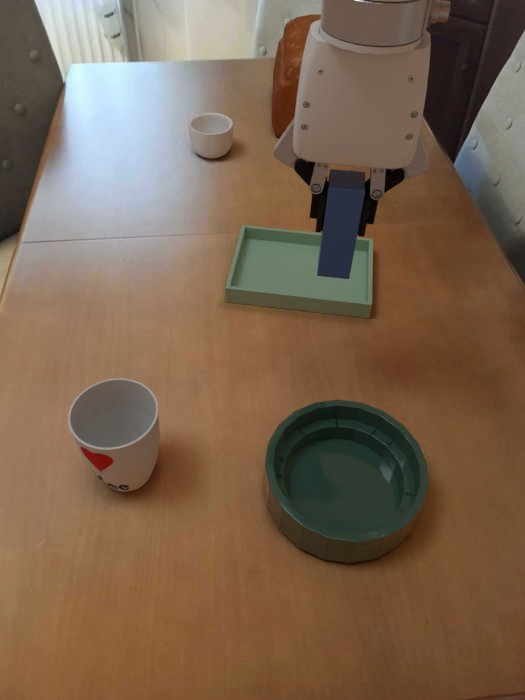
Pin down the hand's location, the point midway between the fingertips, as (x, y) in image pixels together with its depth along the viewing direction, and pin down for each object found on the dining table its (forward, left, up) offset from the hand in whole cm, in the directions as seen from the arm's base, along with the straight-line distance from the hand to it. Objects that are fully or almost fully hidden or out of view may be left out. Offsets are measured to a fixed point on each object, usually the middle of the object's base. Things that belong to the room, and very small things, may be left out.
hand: (340, 224), depth 56 cm
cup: (+19, +17, -22) cm, 33 cm away
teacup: (+23, -49, -22) cm, 58 cm away
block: (0, 0, -5) cm, 5 cm away
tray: (+4, -17, -21) cm, 28 cm away
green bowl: (-3, +16, -21) cm, 27 cm away
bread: (+6, -67, -22) cm, 71 cm away
